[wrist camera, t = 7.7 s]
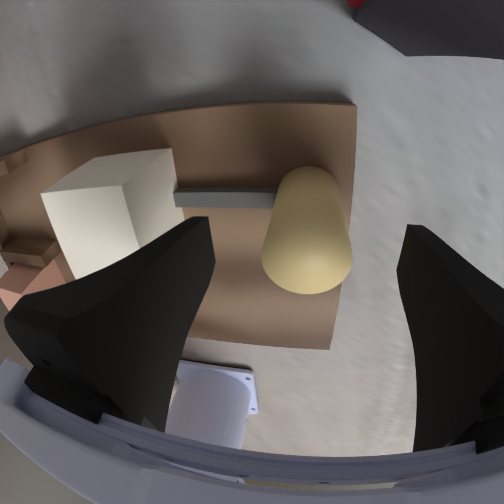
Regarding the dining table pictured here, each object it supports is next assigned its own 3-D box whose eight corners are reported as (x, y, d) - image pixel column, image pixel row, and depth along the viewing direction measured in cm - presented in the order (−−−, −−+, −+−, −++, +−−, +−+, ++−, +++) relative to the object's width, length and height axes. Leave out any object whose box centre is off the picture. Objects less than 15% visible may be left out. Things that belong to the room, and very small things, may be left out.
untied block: (76, 302, 23) (50, 339, 19) (44, 295, 24) (20, 326, 20) (53, 258, 20) (20, 294, 16) (22, 254, 21) (-7, 286, 17)
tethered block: (336, 242, 15) (341, 315, 11) (115, 232, 17) (70, 285, 13) (344, 146, 12) (361, 192, 8) (94, 157, 14) (33, 198, 10)
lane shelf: (329, 339, 21) (328, 373, 18) (48, 299, 26) (34, 318, 24) (353, 103, 11) (365, 113, 9) (-12, 161, 17) (-36, 176, 14)
